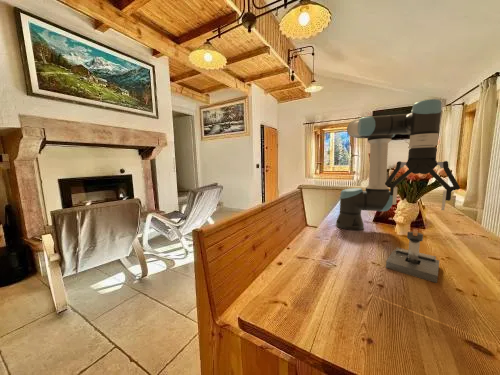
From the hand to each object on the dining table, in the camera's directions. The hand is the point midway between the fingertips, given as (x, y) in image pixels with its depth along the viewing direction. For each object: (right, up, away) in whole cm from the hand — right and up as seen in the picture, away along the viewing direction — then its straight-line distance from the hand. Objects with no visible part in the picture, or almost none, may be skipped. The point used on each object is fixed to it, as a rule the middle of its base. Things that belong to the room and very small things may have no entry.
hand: (417, 206), depth 73 cm
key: (0, -23, +2) cm, 23 cm away
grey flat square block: (0, -23, +2) cm, 23 cm away
